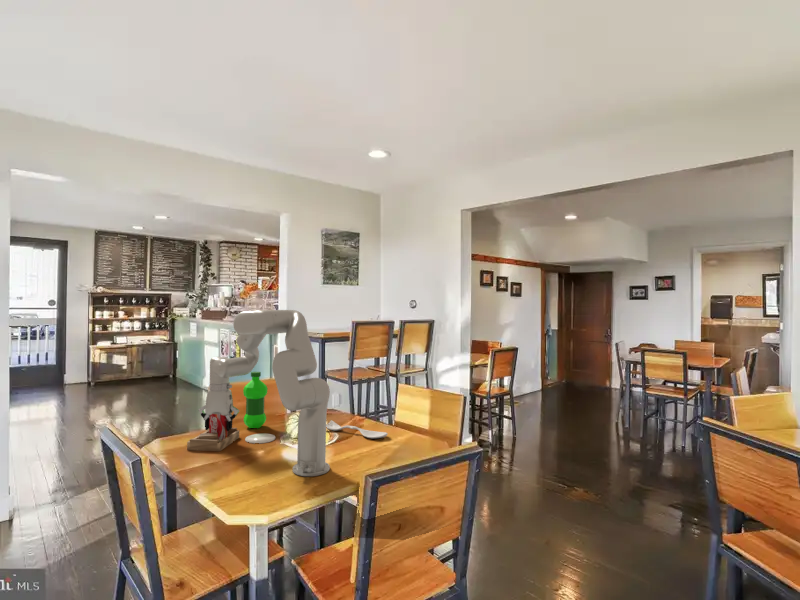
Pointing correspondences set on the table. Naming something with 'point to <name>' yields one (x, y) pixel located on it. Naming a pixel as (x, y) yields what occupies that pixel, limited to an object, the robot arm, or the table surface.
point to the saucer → (260, 438)
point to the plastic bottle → (255, 401)
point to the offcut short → (209, 436)
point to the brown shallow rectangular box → (212, 442)
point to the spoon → (365, 433)
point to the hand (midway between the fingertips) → (218, 429)
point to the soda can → (218, 425)
